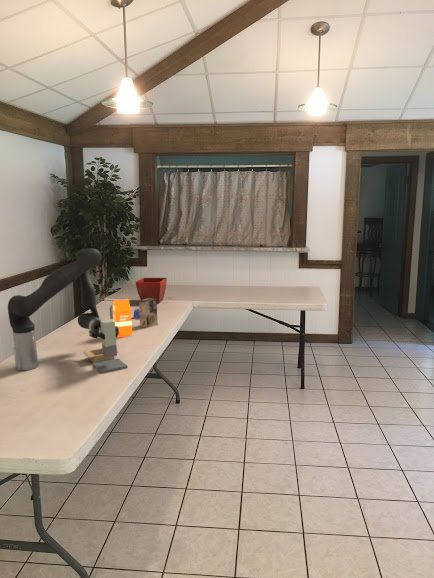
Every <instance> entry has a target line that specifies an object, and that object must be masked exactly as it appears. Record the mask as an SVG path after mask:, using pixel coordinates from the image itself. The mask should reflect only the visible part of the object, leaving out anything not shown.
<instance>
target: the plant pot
mask: <svg viewBox="0 0 434 578" xmlns="http://www.w3.org/2000/svg"><path fill="white" fill-rule="evenodd" d="M167 282H168V278H167V277H142V278H140V279H138V280H136V281H135V288H136V290H137V293H138V297H139V300H143V299H147V298H154V299H156V301H157V304H160V303H161V302H162V301H164V297H165V295H166V289H167V284H168V283H167Z"/></svg>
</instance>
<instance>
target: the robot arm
mask: <svg viewBox="0 0 434 578" xmlns="http://www.w3.org/2000/svg"><path fill="white" fill-rule="evenodd" d="M101 260H102V254H101V252H100V251H99V249H97V248H83V249H80V250H78V251H77V254H76V259H75V261H73V262H70V263H68V264H66V265H64V266H61V267H59V268H56V269H55V270H54V271H52V272H51V273H50V274H48V275H47V276H46V277H45V278H44V279H43V281H42V283H41V285H40V286H39V288H37V289H36V290H34V291H33V292H31V293H30V294H28V295H21V294H20V295H19V294H18V295H17V294H16V295H14V296H12V297H10V298H9V301H8V302H7V303H8V304H7V313H8V320H9V325H10V327H11V329H12V336H13V353H14V354H13V355H14V363H15V368H16V370H17V371H18V370H19V371H30V370H33V369H36V368H38V367H39V360H38V359H39V358H38V349H37V340H36V339H37V337H36V330H35V329H36V328H35V324H34V322H33V321H32V320H31V319H30V317H31V316H32V315H34V314H35V313H36V312H37V311H38V310H39V309H40V308H41V307H42V306H43V305H45V304H46V302H48V301H49V300H50V299H52V298H53V297H55V296H56V295H57V294H59V293H60V292H61V291H63V290H64V289H65V288H67V287H68V286H69V285H71V284H72V283H73V282H75V280H77V279H78V278H79V280H80V292H81V293H80V294H81V301H80V302H81V307H82V308H83V309H88V310H90V312H84V313H80V314H79V315H78V317H77V323H78V326H79V327H81V328H82V329H85V330H88V334H89V335H88V336H89V337H90V338H93V339H98V338H99V339H101V340H102V339H103V340H105V335H104V334H103V333H102V332H101V323H100V321H101V320H102V319H101V318H100V315H99V312H98V308H97V301H96V300H97V299H96V296H97V295H96V293H97V291H96V288H95V285H94V283H93V280H92V277H91V269H93V268H94V267H96V266H98V265H99V264H100V262H101ZM115 331H116V338H118V337H117V336H118V334H119V328H118V326H115Z"/></svg>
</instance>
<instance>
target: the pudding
mask: <svg viewBox="0 0 434 578" xmlns="http://www.w3.org/2000/svg"><path fill="white" fill-rule="evenodd" d="M131 319H134V320H137V319H138V320H140V312H139V308H136V309H134V312H133V314H131Z"/></svg>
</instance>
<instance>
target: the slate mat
mask: <svg viewBox="0 0 434 578" xmlns="http://www.w3.org/2000/svg"><path fill="white" fill-rule="evenodd" d="M92 365H93V366H94V368H95V369H96V370H98V372H100V374H105V373H109V372H115V371H121V370H123V369H127V368H128V365H127V364H126V363H125V362H123V361H122V360H121V359H119V358H114V359H113V360H108V361H102V362H97V363H93V362H92Z"/></svg>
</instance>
